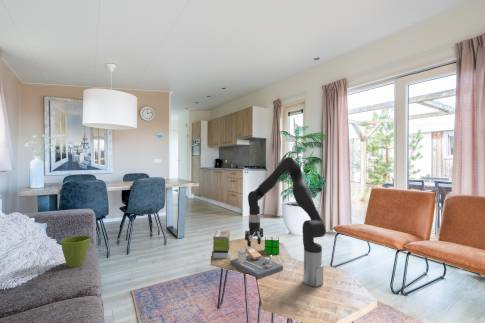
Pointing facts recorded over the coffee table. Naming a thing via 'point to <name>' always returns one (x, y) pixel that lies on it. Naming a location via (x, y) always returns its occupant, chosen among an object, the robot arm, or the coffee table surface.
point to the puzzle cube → (271, 245)
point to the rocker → (253, 253)
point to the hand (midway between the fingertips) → (254, 245)
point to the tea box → (221, 244)
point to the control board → (257, 266)
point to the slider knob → (242, 256)
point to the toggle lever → (269, 259)
